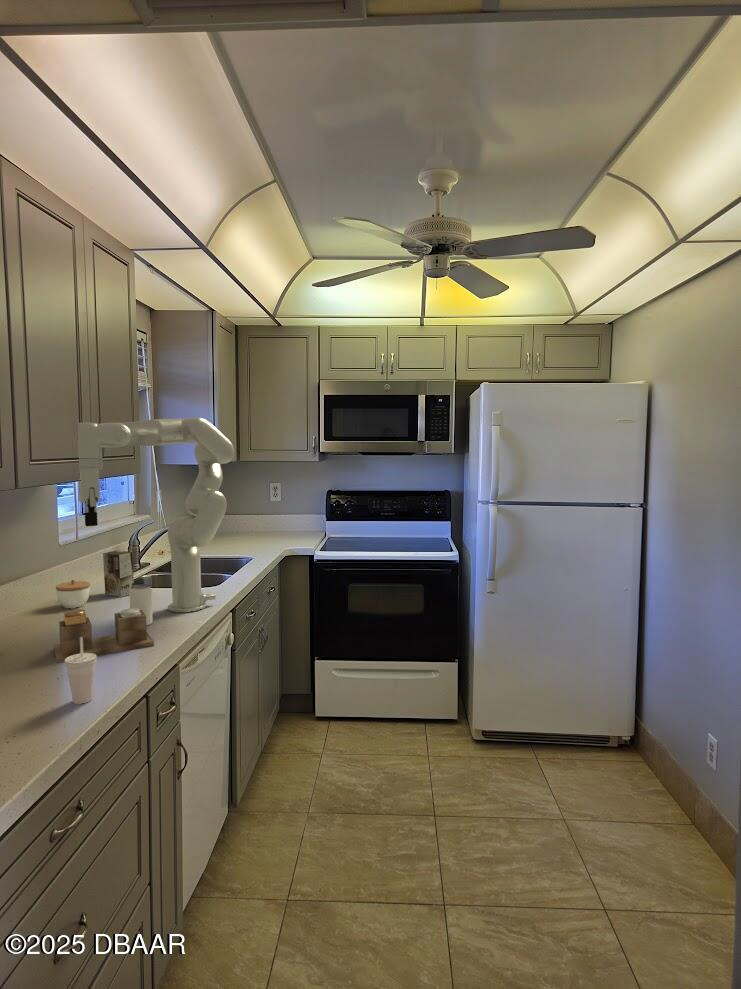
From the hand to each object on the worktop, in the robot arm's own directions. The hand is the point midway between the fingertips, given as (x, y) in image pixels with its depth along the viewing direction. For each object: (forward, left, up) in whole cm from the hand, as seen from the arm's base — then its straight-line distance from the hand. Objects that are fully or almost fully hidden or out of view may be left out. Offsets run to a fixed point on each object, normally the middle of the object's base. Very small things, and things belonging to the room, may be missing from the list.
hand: (91, 525), depth 175 cm
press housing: (0, +18, -32) cm, 37 cm away
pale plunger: (-7, +18, -30) cm, 36 cm away
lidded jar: (+3, -34, -32) cm, 47 cm away
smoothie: (+9, +53, -32) cm, 63 cm away
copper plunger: (+7, +18, -29) cm, 35 cm away
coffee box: (-13, -43, -32) cm, 56 cm away
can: (-13, +1, -32) cm, 35 cm away
